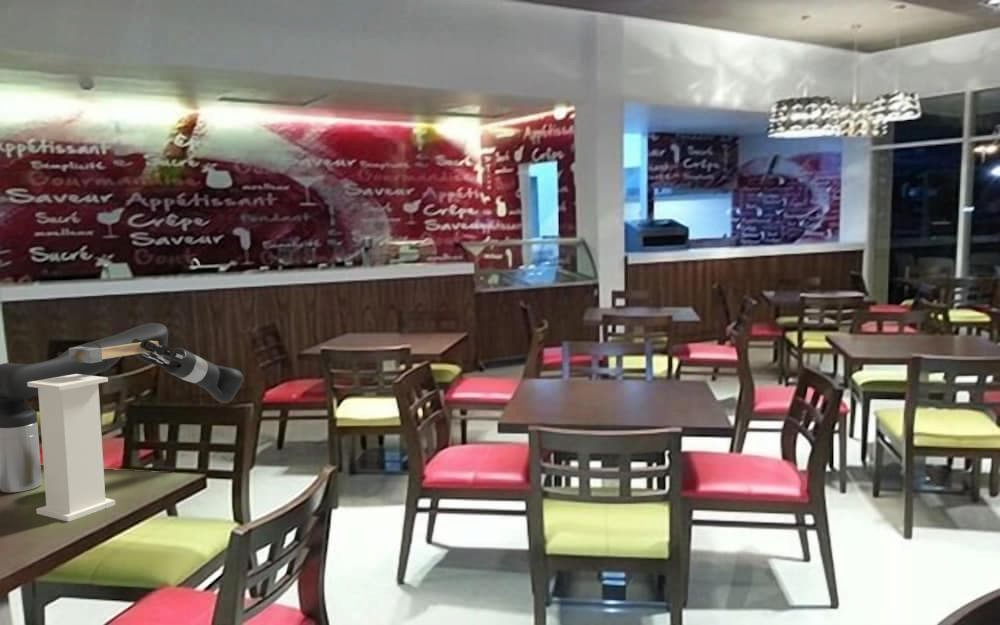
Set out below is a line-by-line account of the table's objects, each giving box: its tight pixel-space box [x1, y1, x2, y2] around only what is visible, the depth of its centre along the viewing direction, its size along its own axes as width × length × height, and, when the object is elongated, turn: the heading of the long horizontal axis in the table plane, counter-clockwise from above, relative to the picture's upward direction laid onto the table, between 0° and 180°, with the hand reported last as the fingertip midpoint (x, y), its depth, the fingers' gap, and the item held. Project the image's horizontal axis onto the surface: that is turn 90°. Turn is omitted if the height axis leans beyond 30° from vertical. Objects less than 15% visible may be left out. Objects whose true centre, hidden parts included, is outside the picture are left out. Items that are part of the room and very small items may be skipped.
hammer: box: [68, 341, 158, 363], centre depth 186 cm, size 8×21×3 cm, turn 154°
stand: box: [27, 374, 116, 522], centre depth 175 cm, size 12×12×32 cm
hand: (137, 342), depth 190 cm, fingers closed on hammer, 3 cm apart
